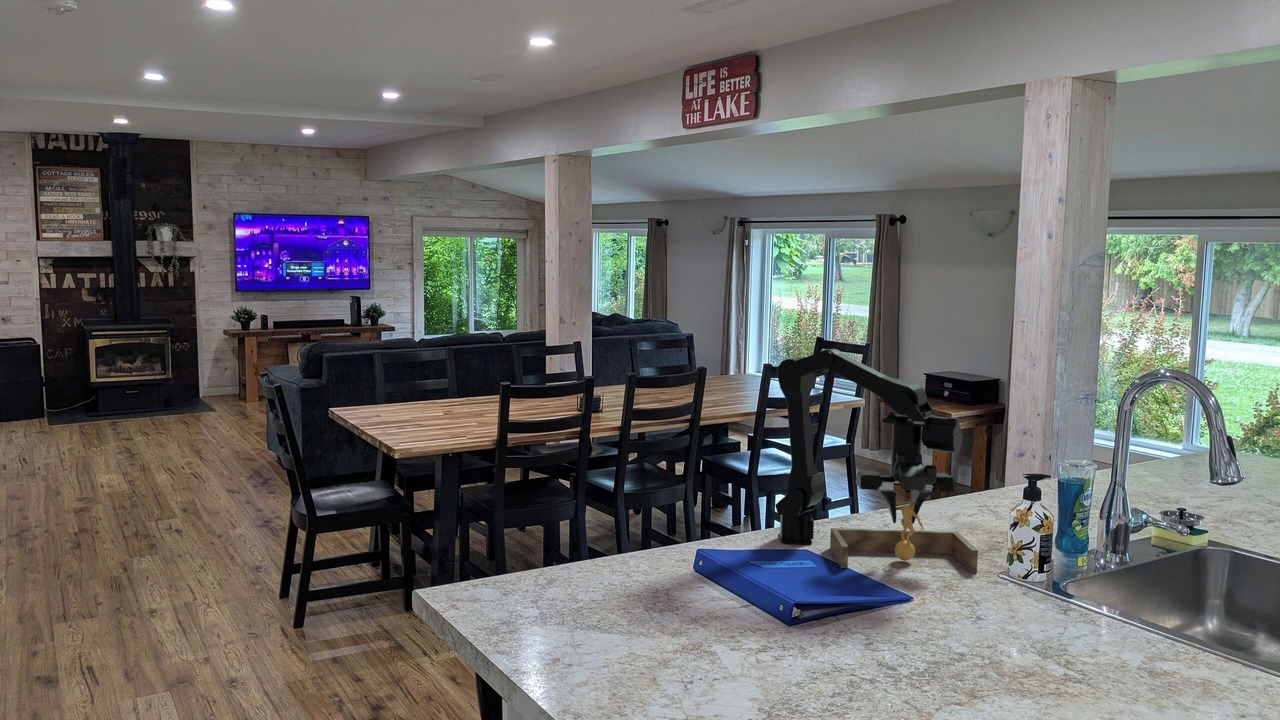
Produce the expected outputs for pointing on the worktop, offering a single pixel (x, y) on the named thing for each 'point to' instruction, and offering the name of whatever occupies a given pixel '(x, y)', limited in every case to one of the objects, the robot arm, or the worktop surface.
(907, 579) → the worktop surface
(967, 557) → the three-sided wooden wall
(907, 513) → the figurine
